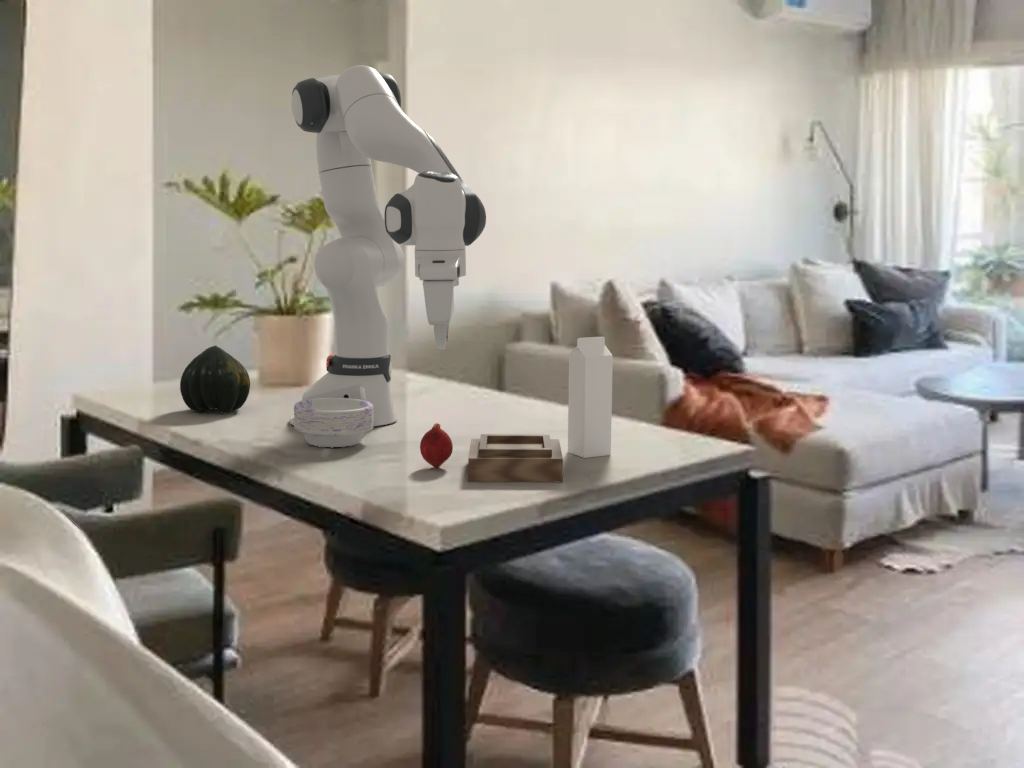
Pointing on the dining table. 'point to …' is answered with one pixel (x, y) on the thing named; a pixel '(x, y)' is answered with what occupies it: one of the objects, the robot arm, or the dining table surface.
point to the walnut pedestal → (515, 458)
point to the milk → (590, 398)
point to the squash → (214, 382)
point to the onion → (436, 446)
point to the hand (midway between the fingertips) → (442, 345)
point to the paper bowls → (333, 421)
